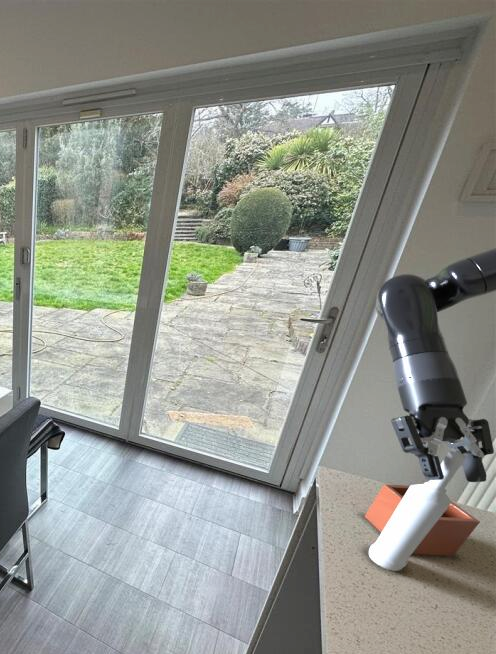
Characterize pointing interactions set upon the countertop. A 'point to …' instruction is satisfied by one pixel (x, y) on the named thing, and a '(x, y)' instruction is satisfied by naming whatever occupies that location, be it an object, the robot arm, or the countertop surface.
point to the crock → (441, 536)
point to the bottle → (414, 517)
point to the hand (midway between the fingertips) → (456, 480)
